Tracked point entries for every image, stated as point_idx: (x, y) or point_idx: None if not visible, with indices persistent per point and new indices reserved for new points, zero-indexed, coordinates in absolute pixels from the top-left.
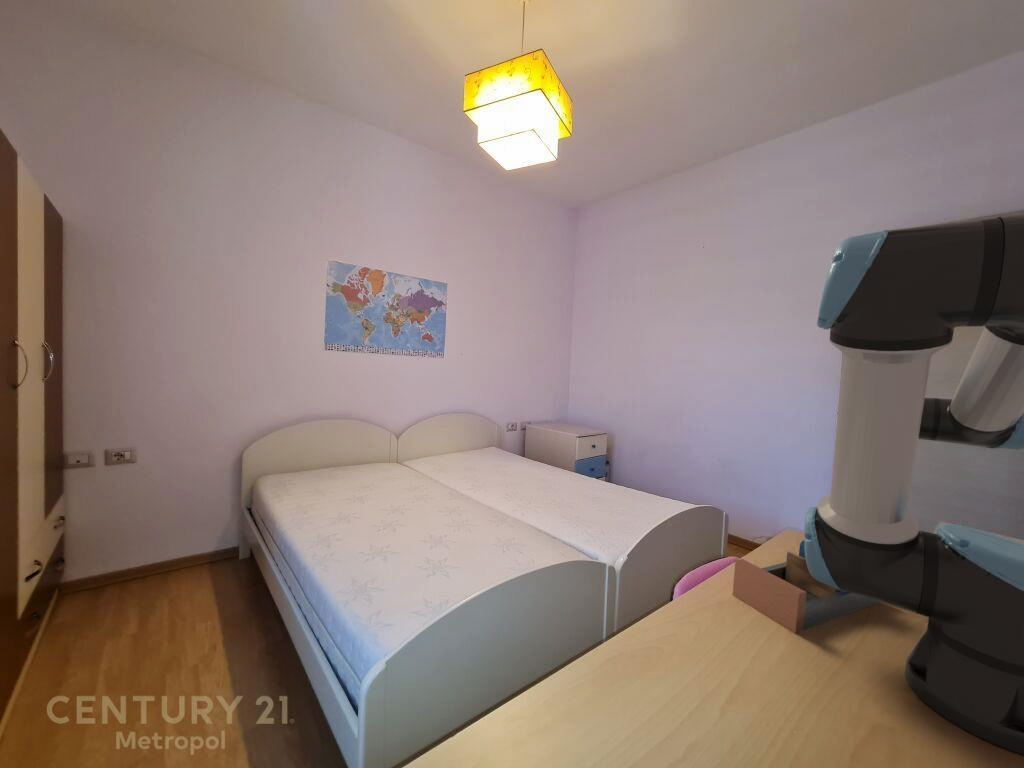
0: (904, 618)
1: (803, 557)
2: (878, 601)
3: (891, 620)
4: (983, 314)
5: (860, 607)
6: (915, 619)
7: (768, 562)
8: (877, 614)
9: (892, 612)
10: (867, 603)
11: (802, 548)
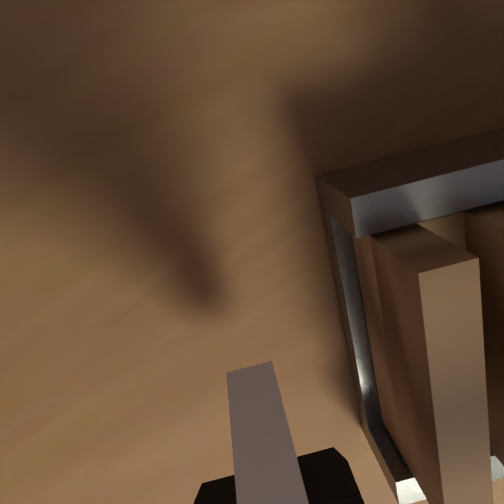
0: (340, 33)
1: None
2: (333, 174)
3: (432, 29)
4: None
5: (499, 132)
6: (287, 16)
7: None
8: (446, 86)
9: (345, 91)
10: (442, 148)
11: None
